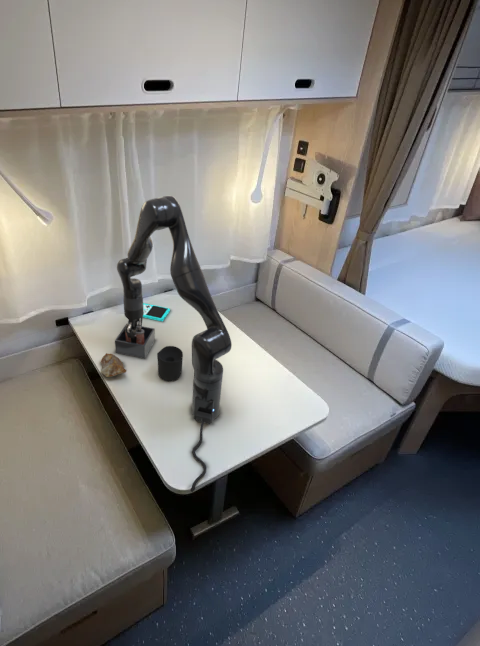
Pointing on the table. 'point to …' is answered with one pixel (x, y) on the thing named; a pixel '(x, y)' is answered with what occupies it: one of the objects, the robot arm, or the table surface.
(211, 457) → the table surface
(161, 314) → the handheld game console
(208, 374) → the robot arm
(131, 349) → the grey square tray
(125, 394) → the table surface
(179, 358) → the pen holder
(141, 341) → the lighter
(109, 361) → the decorative stone
